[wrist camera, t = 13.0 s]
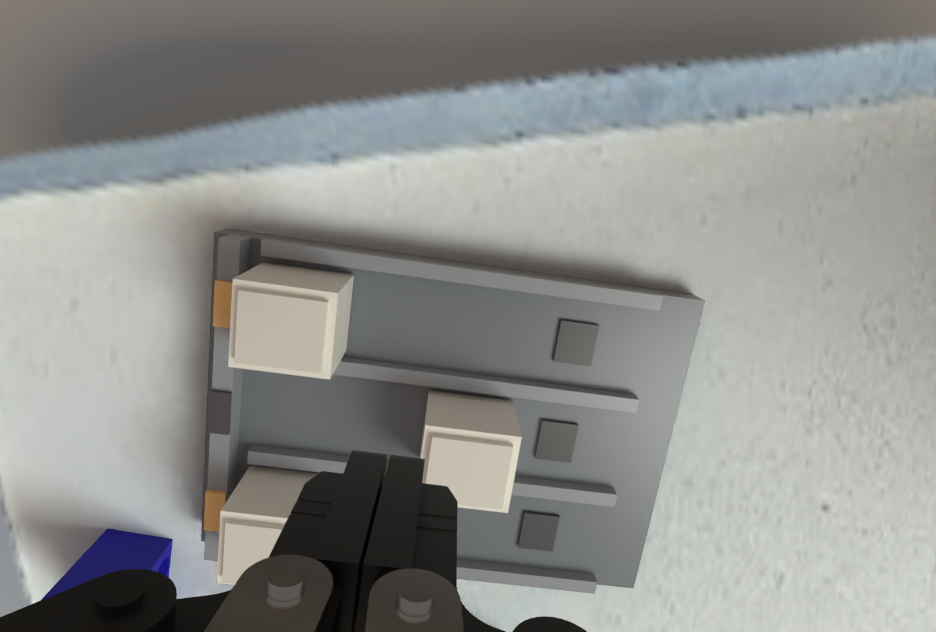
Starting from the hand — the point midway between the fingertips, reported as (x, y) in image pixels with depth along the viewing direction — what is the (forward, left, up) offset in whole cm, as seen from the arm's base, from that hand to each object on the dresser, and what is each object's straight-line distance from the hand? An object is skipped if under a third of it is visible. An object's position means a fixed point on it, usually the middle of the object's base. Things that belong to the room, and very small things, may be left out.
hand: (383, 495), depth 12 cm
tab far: (+5, +9, -13) cm, 16 cm away
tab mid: (-3, +4, -13) cm, 14 cm away
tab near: (+5, 0, -13) cm, 14 cm away
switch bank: (-2, +4, -14) cm, 15 cm away
